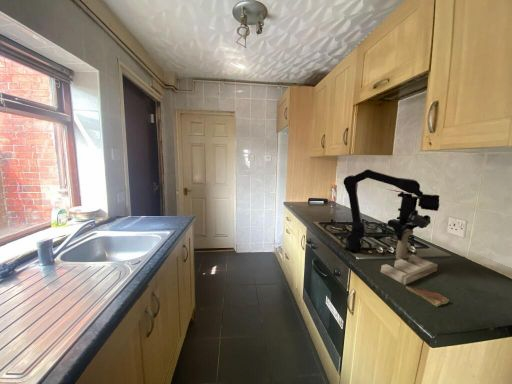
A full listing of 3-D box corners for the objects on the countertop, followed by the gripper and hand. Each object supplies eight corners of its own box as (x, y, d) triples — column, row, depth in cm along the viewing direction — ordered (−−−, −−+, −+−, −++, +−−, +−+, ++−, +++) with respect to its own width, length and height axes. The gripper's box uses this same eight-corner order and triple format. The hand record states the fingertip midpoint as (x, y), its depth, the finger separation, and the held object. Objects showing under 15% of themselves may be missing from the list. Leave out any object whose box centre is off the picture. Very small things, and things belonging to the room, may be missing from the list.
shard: (404, 289, 82) (405, 284, 82) (418, 285, 85) (418, 281, 84) (435, 308, 72) (436, 303, 72) (450, 303, 75) (451, 299, 74)
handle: (408, 263, 98) (414, 232, 96) (392, 259, 101) (397, 229, 99) (407, 259, 103) (412, 229, 100) (391, 255, 106) (396, 226, 103)
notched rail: (380, 272, 93) (381, 265, 92) (411, 260, 103) (412, 254, 103) (405, 284, 84) (406, 277, 83) (436, 270, 95) (437, 264, 94)
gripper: (416, 214, 86) (410, 250, 89) (439, 209, 95) (433, 242, 98) (388, 207, 96) (384, 240, 99) (412, 203, 104) (407, 234, 107)
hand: (403, 239), depth 100 cm, fingers closed on handle, 5 cm apart
